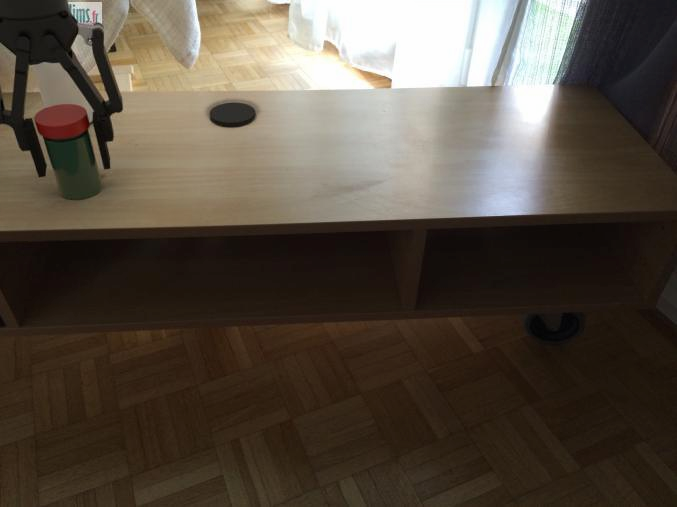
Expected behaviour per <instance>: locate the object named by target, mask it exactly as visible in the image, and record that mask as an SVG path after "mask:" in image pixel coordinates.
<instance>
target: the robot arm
mask: <svg viewBox="0 0 677 507" xmlns="http://www.w3.org/2000/svg"><path fill="white" fill-rule="evenodd" d="M78 35H79V36H81V37H82V38H83V41H84V43H85V44H86V45H87V46H89V47H91V50H92V56H93V59H94V61H95V64H96V67H97V71H98V73H99V76H100V78H101V81H102V84H103V86H104V89H105V92H106V95H107V98H108V99H107V100H105V98H104V96H103V95H102V94H101V92H100V91H99V89H98V88H97V86H96V84H95V83H94V82H93V80H92V79H91V77H90V76H89V74H88V73H87V71H86V70H85V68H84V67H83V64H82V65H81V64H80V62H79V61H78V59H77V57H76V55H75V53H74V52H73V50H72V49H71V47H72V45H73V44H74V43H75V40H76V38H77V36H78ZM0 45H2V46H4V47H5V48H6V49H7V50H8V51H9V52H10V53H11V54H13V55H14V56H15V62H14V63H15V64H14V76H13V77H14V79H13V89H12V96H11V97H12V98H11V109H7V108H6V106H5V102H4V96H3V92H2V87H1V85H0V125H6V126H9V127H11V128H12V131H13V134H14V136H15V139H16V142H17V146H18V148H19V149H20V151H21V152H30V155H31V158H32V161H33V164H34V167H35V170H36V174H37V177H38V178H45V177H46V175H47V167H48V164H47V161H46V158H45V156H44V152H43V149H42V145H41V142H40V139H39V136H38V131H37V128H36V125H35V122H34V119H33V117H29V118H28V117H27V118H25V110H26V101H27V100H26V99H27V90H28V81H29V72H30V66H32V65H37V64H40V63H43V62H47V63H60V64H61V66H62V67H63V69H64V70H65V71H67V73H68V74H69V75H70V77H71V78H72V80H73V81H74V83H75V84H76V86H77V87H78V88H79V90H80V91H81V93H82V94H83V96H84V97H85V99H86V100H87V102H88V103H89V104H90V106H91V107H92V109H93V120H92V122H91V123H92V126H93V130H94V133H95V138H96V142H97V147H98V150H99V154H100V158H101V162H102V166H103V170H111V155H110V151H109V147H108V146H109V145H108V143H110V142H114V137H115V133H114V132H115V131H114V129H113V123H112V119H111V117H112V115H114V114H120V113H122V112H123V110H124V103H123V96H122V94H121V91H120V87H119V85H118V82H117V79H116V76H115V73H114V70H113V66H112V64H111V61H110V58H109V55H108V52H107V50H106V47H105V26H104V25H103V24H102V22H98V21H97V22H94V23H93V24H89V23H83V22H79V21H78V20H77V19H76V17H74V15H73V13H72V11H71V8H70V4H69V0H0Z"/></svg>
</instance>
